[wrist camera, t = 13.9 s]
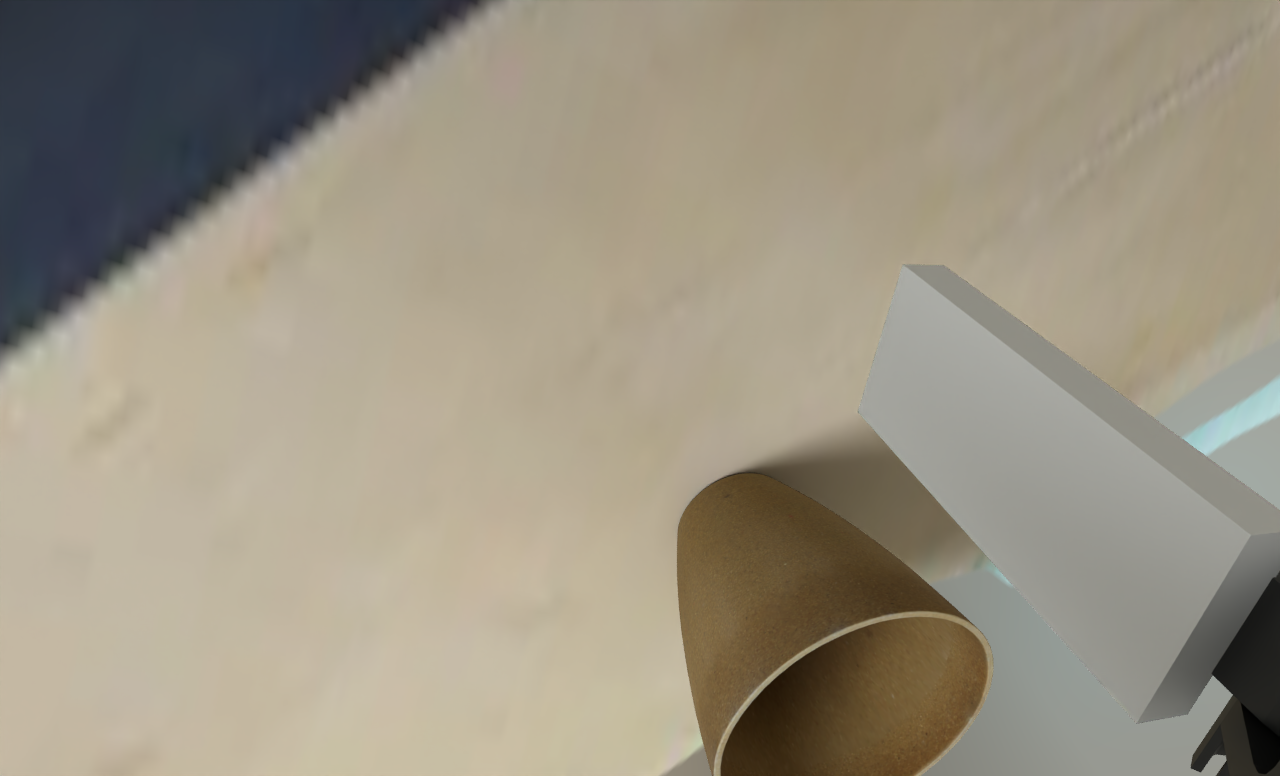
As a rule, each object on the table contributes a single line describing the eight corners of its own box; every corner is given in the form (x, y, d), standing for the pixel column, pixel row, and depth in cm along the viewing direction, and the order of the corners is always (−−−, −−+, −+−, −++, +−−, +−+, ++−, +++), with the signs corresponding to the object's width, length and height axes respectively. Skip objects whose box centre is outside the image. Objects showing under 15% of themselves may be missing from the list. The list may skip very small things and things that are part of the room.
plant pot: (649, 639, 60) (739, 866, 47) (595, 473, 52) (687, 695, 39) (853, 558, 62) (995, 757, 49) (834, 385, 53) (999, 569, 40)
